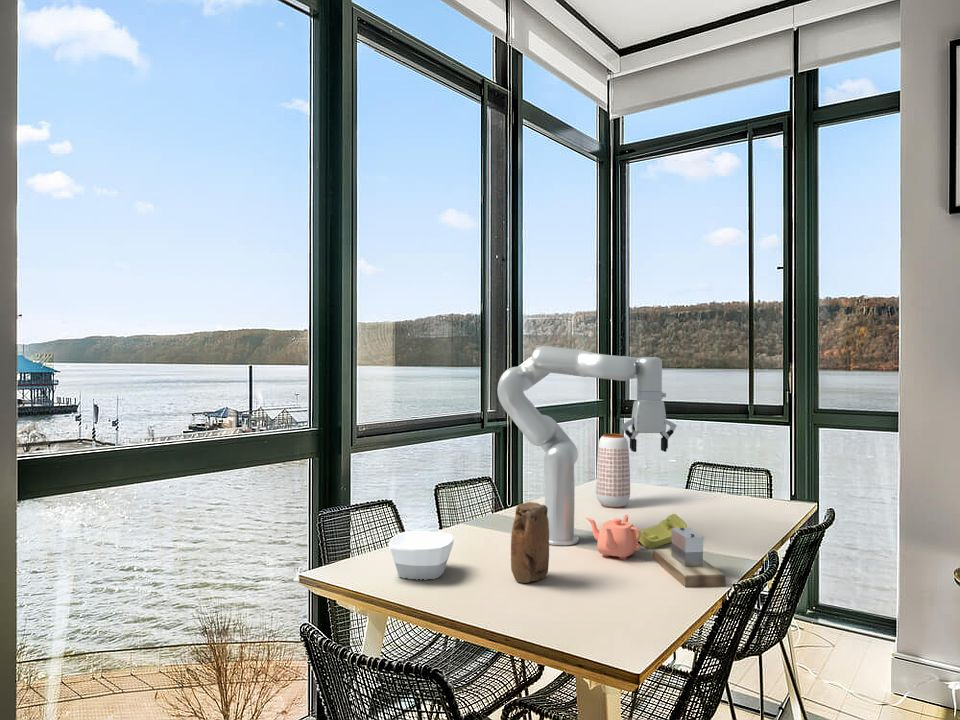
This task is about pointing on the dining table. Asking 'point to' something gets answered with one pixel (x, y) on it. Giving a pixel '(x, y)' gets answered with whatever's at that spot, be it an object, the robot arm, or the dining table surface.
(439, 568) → the bowl
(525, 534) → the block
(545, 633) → the dining table surface
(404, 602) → the dining table surface
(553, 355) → the robot arm
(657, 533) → the plastic component
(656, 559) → the walnut stand
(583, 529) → the dining table surface
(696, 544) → the housing
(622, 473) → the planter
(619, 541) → the teapot
